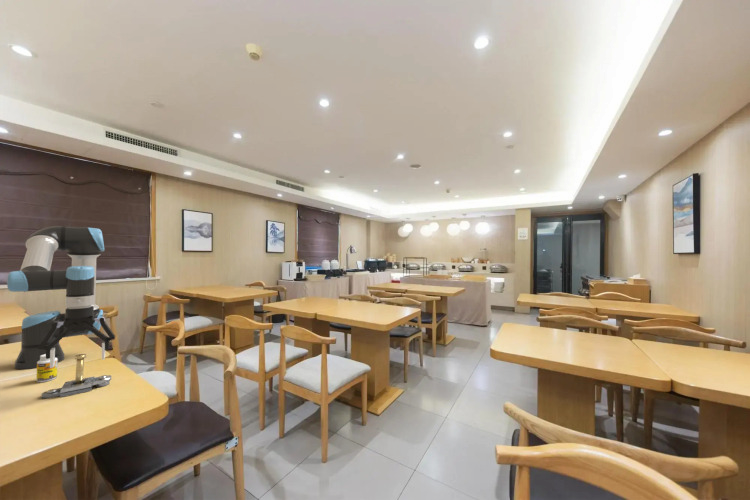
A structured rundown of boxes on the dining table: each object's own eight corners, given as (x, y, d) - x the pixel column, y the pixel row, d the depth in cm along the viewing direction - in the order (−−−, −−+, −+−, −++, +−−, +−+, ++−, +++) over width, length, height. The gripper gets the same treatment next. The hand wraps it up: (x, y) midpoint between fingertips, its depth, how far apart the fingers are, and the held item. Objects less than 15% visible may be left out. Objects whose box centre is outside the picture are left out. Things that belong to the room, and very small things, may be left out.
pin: (73, 389, 109) (75, 354, 109) (84, 387, 111) (86, 353, 111) (72, 392, 106) (74, 357, 107) (83, 390, 108) (85, 355, 109)
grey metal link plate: (44, 393, 106) (44, 384, 106) (112, 379, 117) (112, 371, 117) (38, 401, 100) (38, 392, 100) (110, 386, 111) (110, 378, 111)
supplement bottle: (33, 384, 113) (34, 358, 113) (39, 378, 118) (40, 353, 118) (54, 380, 116) (54, 355, 116) (59, 375, 121) (59, 351, 121)
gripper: (26, 312, 98) (25, 374, 98) (123, 304, 114) (121, 358, 114) (33, 308, 104) (31, 366, 104) (124, 302, 120) (123, 352, 120)
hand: (78, 362), depth 109 cm, fingers open, 13 cm apart
